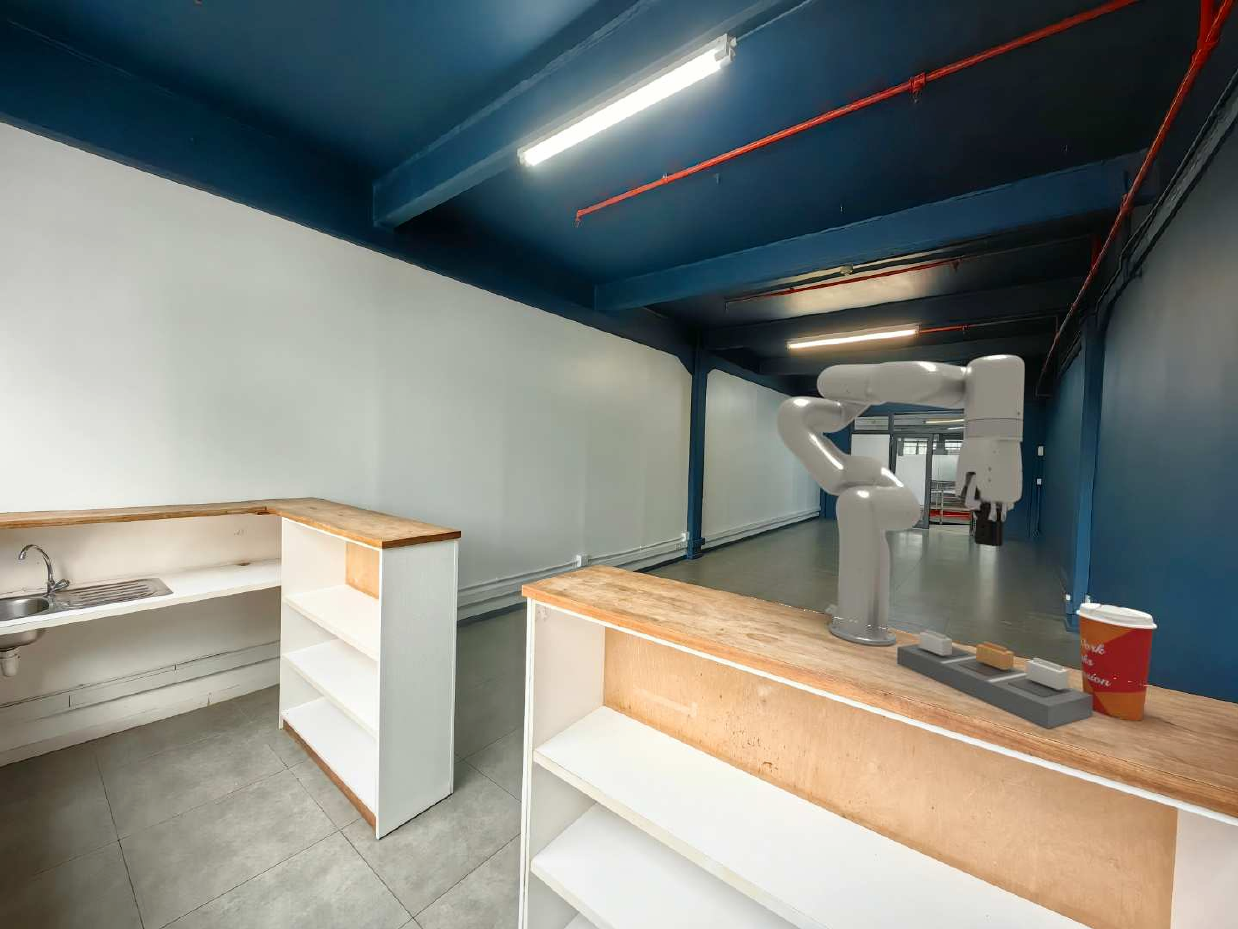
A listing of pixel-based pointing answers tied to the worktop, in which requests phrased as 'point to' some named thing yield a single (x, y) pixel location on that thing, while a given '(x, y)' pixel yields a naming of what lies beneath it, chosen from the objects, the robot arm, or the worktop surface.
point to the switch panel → (999, 686)
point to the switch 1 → (935, 642)
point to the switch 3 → (1047, 673)
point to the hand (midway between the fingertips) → (988, 544)
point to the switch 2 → (994, 655)
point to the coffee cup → (1115, 658)
